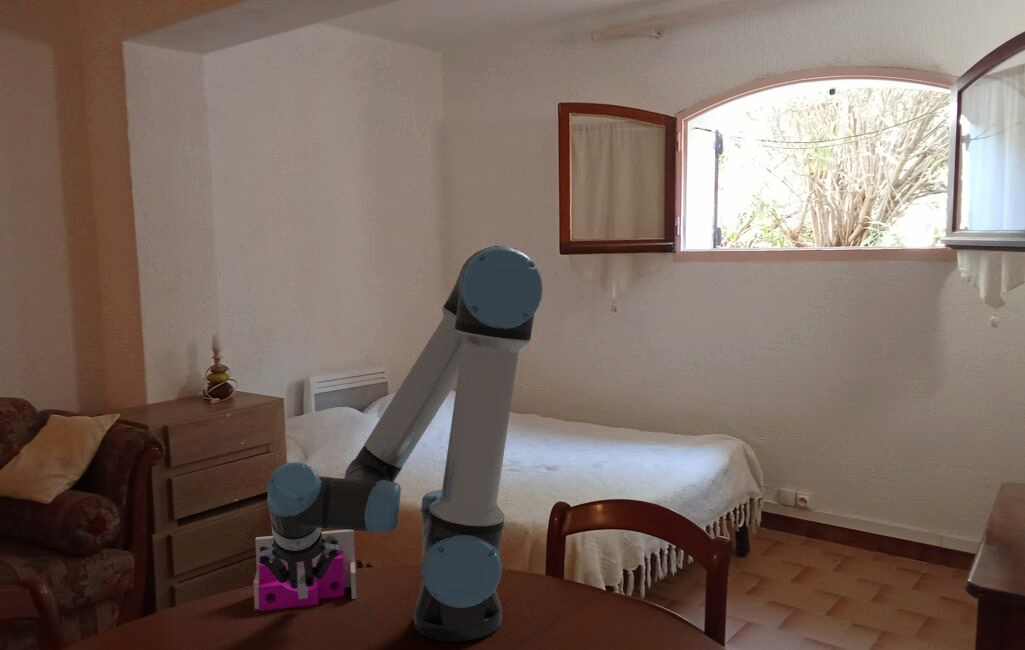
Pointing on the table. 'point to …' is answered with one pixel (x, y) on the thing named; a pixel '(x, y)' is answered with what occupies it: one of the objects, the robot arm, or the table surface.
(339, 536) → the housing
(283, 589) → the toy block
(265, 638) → the table surface
